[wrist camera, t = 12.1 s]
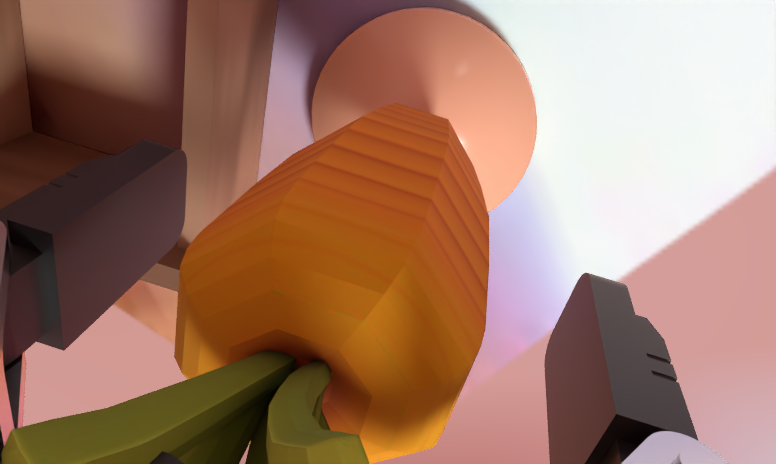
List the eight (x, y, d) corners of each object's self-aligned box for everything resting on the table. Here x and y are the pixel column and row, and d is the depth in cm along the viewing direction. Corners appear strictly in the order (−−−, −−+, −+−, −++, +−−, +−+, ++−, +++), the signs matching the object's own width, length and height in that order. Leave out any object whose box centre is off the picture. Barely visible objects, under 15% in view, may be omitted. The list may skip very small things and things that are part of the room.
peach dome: (337, -21, 17) (332, -20, 16) (572, 44, 16) (574, 48, 16) (302, 188, 20) (297, 195, 20) (493, 246, 20) (493, 255, 19)
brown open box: (-21, -152, 17) (-207, -177, 12) (286, -67, 16) (202, -62, 12) (15, 144, 22) (-109, 200, 17) (252, 217, 21) (184, 293, 17)
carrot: (333, 58, 17) (-261, 475, 4) (501, 38, 16) (391, 549, 3) (360, 207, 19) (27, 780, 6) (510, 200, 18) (468, 896, 5)
